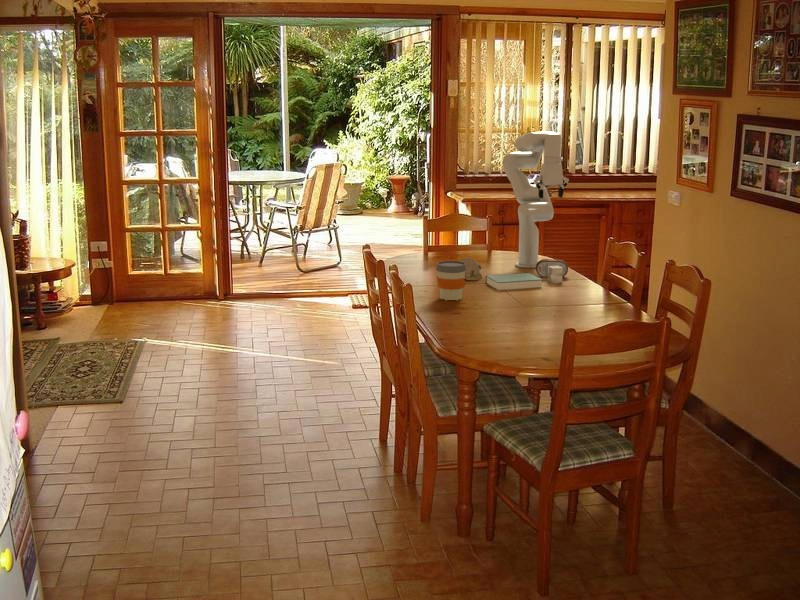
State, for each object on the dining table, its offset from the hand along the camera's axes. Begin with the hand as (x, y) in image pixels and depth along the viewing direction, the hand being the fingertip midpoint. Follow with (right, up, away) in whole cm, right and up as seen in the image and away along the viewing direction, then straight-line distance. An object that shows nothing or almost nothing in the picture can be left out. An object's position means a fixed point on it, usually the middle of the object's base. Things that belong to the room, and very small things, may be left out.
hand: (550, 197), depth 432 cm
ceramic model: (-38, -37, +4) cm, 53 cm away
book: (-19, -41, -13) cm, 47 cm away
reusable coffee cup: (-48, -47, -37) cm, 77 cm away
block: (+1, -39, -5) cm, 40 cm away
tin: (+1, -37, +5) cm, 37 cm away
